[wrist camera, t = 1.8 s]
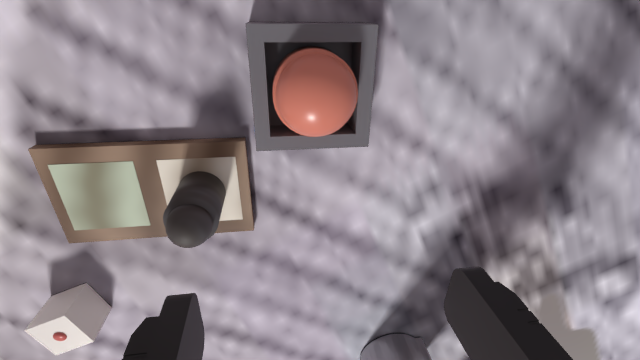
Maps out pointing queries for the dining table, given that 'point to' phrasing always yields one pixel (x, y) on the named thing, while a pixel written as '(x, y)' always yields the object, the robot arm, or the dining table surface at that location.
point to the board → (138, 184)
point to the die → (69, 319)
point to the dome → (314, 91)
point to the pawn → (194, 209)
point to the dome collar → (284, 37)
